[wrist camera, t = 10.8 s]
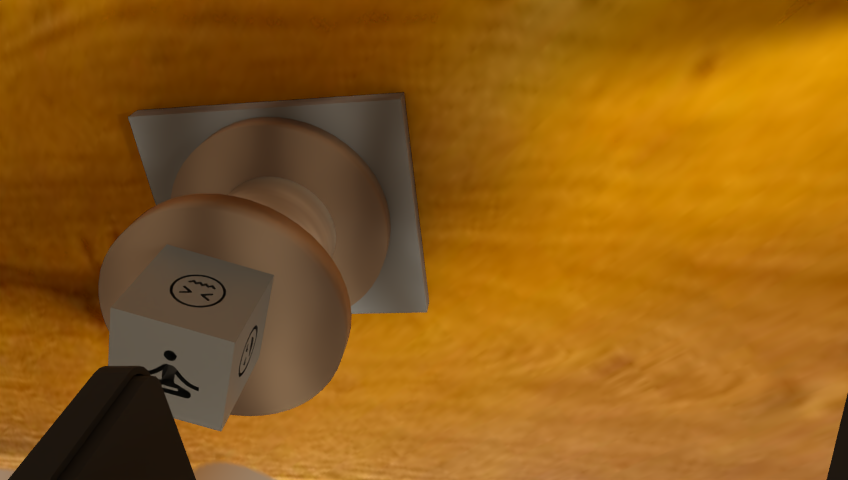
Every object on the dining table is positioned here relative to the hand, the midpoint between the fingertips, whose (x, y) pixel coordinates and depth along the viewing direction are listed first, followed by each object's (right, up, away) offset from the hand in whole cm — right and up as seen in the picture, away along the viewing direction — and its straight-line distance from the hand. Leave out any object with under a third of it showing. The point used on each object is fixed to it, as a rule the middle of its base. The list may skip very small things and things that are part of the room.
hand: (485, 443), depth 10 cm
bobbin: (-9, +5, +34) cm, 35 cm away
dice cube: (-11, 0, +23) cm, 25 cm away
